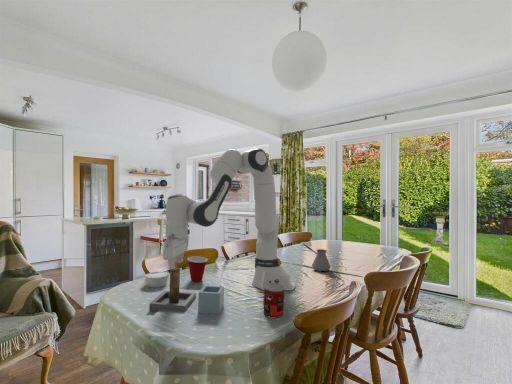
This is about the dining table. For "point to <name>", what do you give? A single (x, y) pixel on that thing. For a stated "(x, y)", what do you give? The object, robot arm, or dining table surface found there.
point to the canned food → (273, 300)
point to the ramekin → (156, 279)
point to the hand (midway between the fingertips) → (176, 265)
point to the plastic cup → (197, 268)
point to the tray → (164, 304)
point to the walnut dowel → (174, 285)
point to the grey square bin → (211, 299)
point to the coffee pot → (320, 260)
